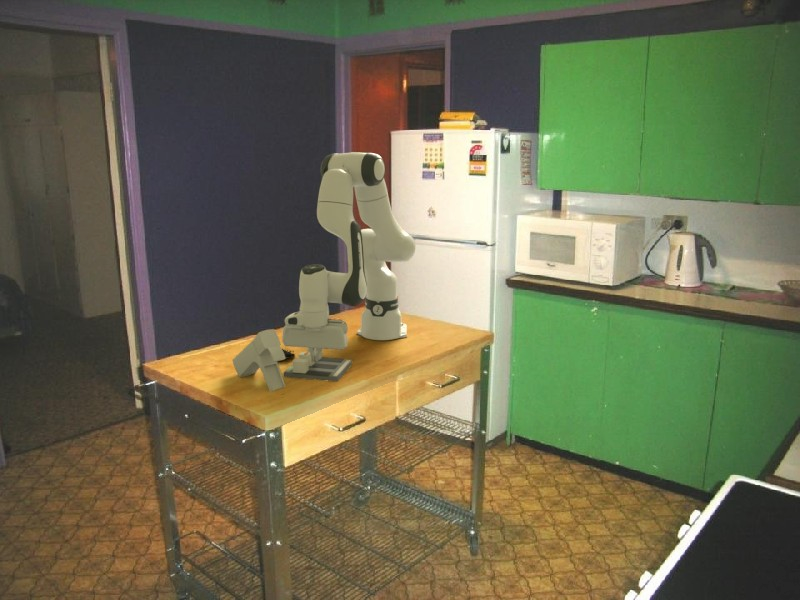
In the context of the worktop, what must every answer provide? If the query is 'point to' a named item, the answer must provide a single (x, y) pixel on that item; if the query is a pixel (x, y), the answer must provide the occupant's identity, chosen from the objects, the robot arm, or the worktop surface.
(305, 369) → the block
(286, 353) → the hairbrush
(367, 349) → the worktop surface
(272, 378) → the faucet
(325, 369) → the panel
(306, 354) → the breaker
